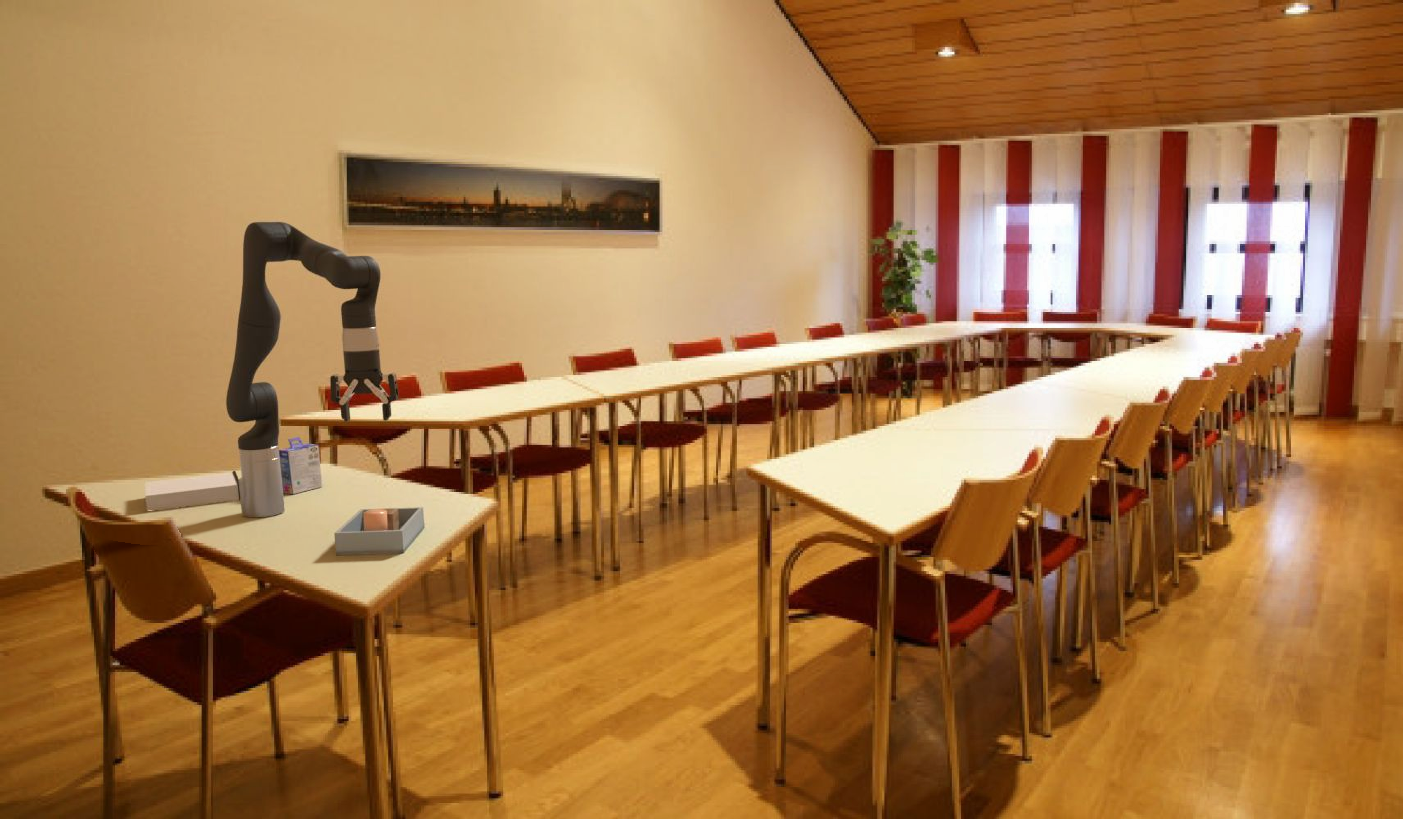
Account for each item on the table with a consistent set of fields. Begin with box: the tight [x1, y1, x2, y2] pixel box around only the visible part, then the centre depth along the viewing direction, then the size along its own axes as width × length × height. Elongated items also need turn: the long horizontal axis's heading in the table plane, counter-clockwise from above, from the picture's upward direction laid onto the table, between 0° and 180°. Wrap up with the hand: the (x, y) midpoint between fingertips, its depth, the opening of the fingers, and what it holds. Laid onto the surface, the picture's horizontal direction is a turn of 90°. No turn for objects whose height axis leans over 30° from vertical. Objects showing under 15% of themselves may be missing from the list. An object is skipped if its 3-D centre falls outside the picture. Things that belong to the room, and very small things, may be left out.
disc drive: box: [144, 470, 241, 511], centre depth 272 cm, size 18×22×5 cm
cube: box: [382, 507, 400, 530], centre depth 232 cm, size 5×5×5 cm
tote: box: [334, 506, 425, 556], centre depth 229 cm, size 15×20×5 cm
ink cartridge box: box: [279, 436, 323, 495], centre depth 278 cm, size 10×6×14 cm, turn 148°
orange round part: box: [363, 508, 388, 531], centre depth 224 cm, size 5×5×7 cm
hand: (366, 420), depth 223 cm, fingers open, 8 cm apart
